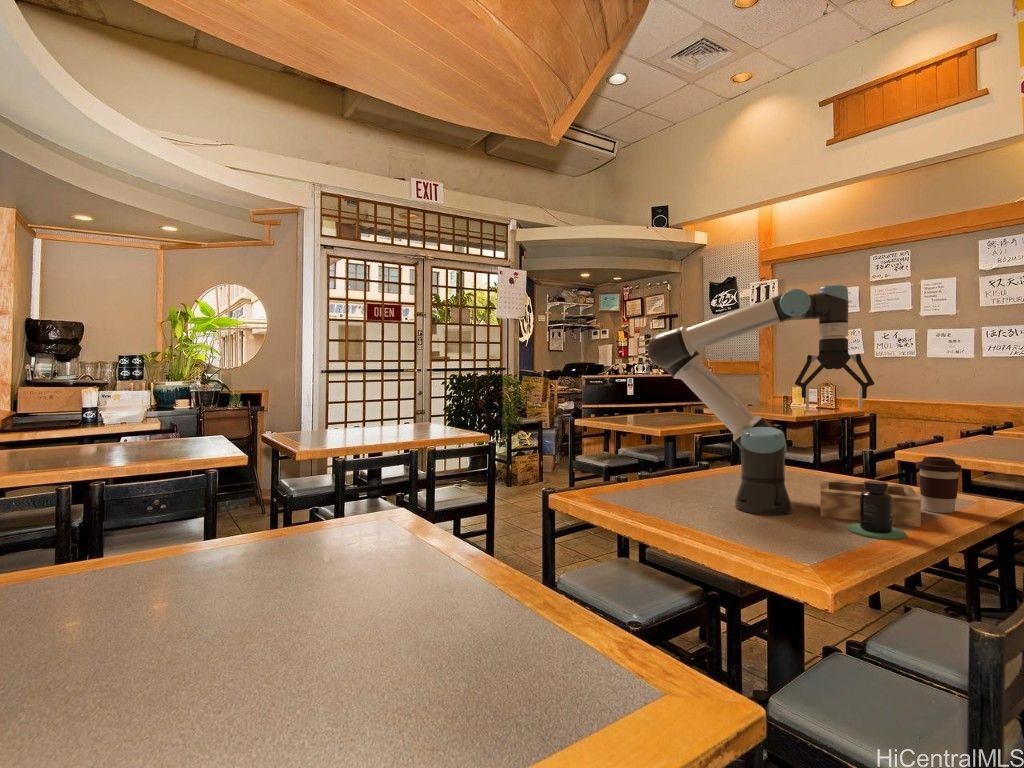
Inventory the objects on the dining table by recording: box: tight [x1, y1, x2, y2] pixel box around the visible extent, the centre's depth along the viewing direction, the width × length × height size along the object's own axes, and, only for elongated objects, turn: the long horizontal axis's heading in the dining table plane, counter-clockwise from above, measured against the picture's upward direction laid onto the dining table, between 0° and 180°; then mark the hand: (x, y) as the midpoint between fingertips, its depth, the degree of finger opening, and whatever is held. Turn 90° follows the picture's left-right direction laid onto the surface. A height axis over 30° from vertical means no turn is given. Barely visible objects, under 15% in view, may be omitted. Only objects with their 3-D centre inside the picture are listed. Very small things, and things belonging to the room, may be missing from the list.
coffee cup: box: [916, 456, 962, 514], centre depth 156 cm, size 10×10×15 cm
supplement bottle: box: [859, 480, 894, 533], centre depth 136 cm, size 7×7×12 cm
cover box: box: [820, 478, 922, 528], centre depth 154 cm, size 22×19×7 cm
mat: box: [847, 522, 907, 541], centre depth 137 cm, size 12×12×1 cm
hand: (833, 409), depth 163 cm, fingers open, 13 cm apart
